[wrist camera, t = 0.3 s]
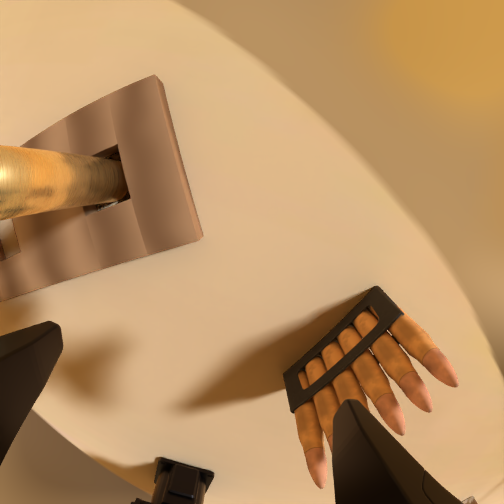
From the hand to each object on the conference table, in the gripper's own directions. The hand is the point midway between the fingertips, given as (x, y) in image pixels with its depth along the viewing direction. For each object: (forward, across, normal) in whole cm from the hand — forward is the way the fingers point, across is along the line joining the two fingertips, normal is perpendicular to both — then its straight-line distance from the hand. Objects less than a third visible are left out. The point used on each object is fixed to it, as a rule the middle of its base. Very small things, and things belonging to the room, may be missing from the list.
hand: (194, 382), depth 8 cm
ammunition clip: (+14, -10, +6) cm, 18 cm away
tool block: (+14, +16, +1) cm, 21 cm away
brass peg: (+14, +10, -2) cm, 18 cm away
